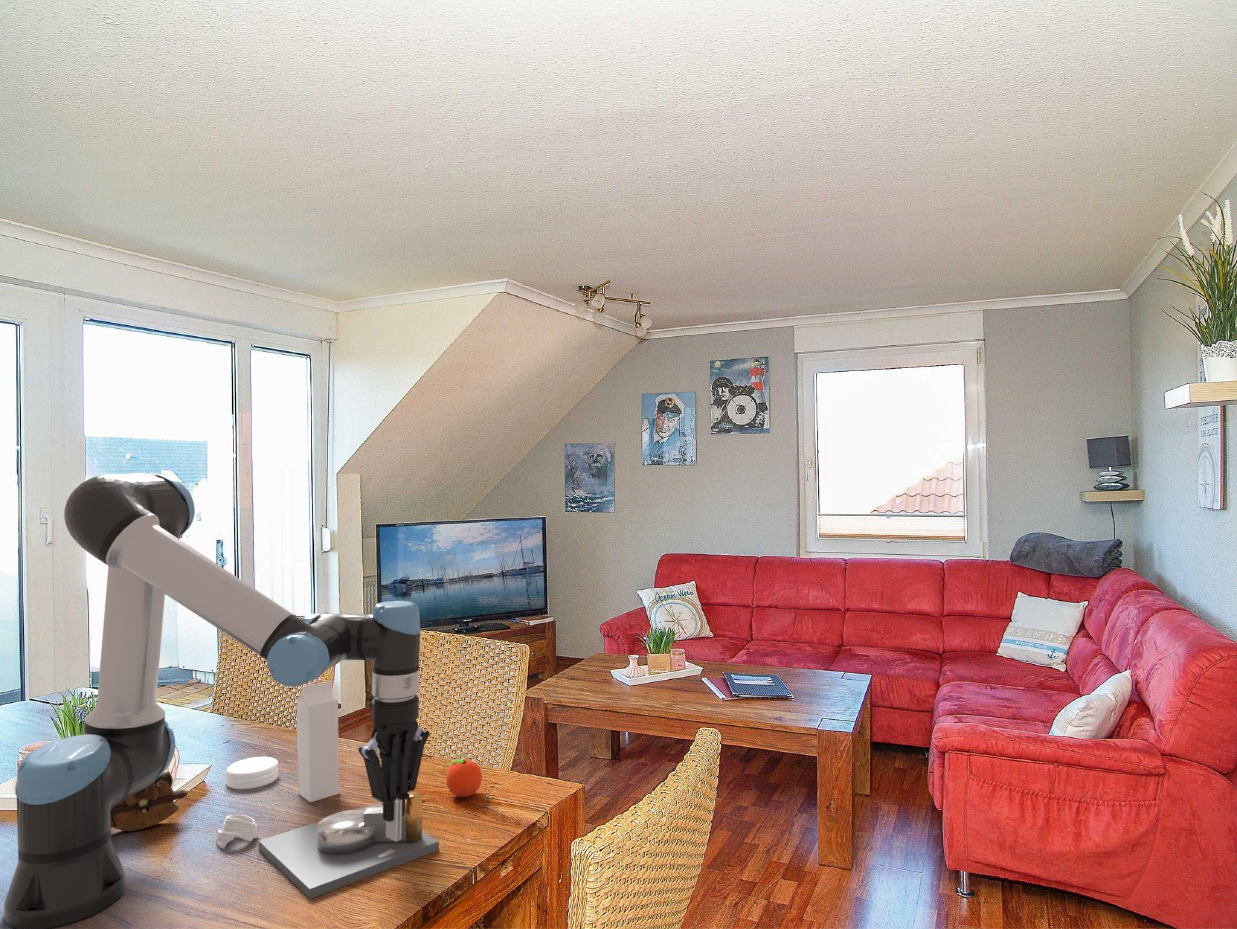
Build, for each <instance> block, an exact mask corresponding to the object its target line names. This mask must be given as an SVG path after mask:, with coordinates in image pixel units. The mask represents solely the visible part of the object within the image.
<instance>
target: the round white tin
mask: <svg viewBox="0 0 1237 929" xmlns="http://www.w3.org/2000/svg"><path fill="white" fill-rule="evenodd" d="M279 769H280V768H279V761H278V760H277V759H276V758H274V757H271V756H254V757H248V758H245V759H241V760H238V761H235V762H233V763H231V764H230V765H229V766H228V767H227V768H226V770H225V774H226V776H225V778H226V786H227V787H228V788H229V789H233V790H252V789H257V788H261V787H265V786H267V785H270V784H271V783H274V781H276V780H277V779H278V778H279V776H280V774H279Z"/></svg>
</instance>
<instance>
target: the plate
mask: <svg viewBox="0 0 1237 929" xmlns="http://www.w3.org/2000/svg"><path fill="white" fill-rule="evenodd" d="M374 807H383V803H380V802H378V803H377V802H376V803H373V804H371V805H368V806H364V807H361V808H358V809H357V810H366V809H367V808H374ZM319 822H320V821H317V822H313V823H311V824H307V825H304V826H301V827H297V828H294V829H292V830H289V831H286V832H283V833H279V834H276V835H272V836H270V837H269V836H268V837H267V838H266V837H265V838H263V839H260V840H258V850H259V851H260V852H261V853H262V854H263V855H264V856H265V857H266V858H267V859H268V860H269V861H270V862H271V863H272V864H273V865H274V866H275V867H277V869H278V870H279V871H280V872H281V873H282V874H283V875H285V877H286V878H288V879H289V881H291V882H292V883H293V884H294V885H295V886H296V887H297V888H298V889H299V890H300V891H301V892H302V893H303V894H304V895H305V896H306V897H307V898H308V899H309V900H311V899H313V898H316V897H318V896H321V895H325V894H326V893H329V892H331V891H335V890H337V889H340V888H342V887H345V886H348V885H350V884H353V883H355V882H358V881H361V880H363V879H366V878H369V877H371V876H375V875H377V874H380V873H383V872H385V871H388V870H390V869H392V868H393V869H394V868H396V867H398V866H401V865H403V864H406V863H409V862H411V861H414V860H417V859H419V858H423V857H424V856H427V855H430V854H432V853H435V852H438V851H439V850H440V842H439V840H438V839H436V838H434V837H433V836H432V835H430V834H429V833H427V832H425V831H424V830H422V838H421V839H420V840H418V841H414V842H408V841H388V842H375V843H374V844H372V845H371V846H369V847H367V848H365V849H362V850H359V851H356V852H352V853H345V854H330V853H325V852H322V851H321V850H319V849H318V847H317V824H318V823H319Z"/></svg>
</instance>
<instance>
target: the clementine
mask: <svg viewBox="0 0 1237 929" xmlns="http://www.w3.org/2000/svg"><path fill="white" fill-rule="evenodd" d="M452 763H453V764H452ZM449 764H452V765H451V766H450V767H449V769H448V771H447V774H446V780H445V781H446V786H447V788H448V791H449V792H450V793H452V795H454V796H456V797H458V798H467V797H470V796H472V795H474V794H475V793H477V791H478V790H479V788H480V787H481V785H482V779H483V775H482V771H481V768H480V766H479V765H478V764H477V763H476V762H475V761H473V760H471V759H455V760H452V761H450V762H449V763H447V764H446V765H445V766H444V769H443V772H444V771H445V769H446V767H447V766H448V765H449Z"/></svg>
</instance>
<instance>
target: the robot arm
mask: <svg viewBox="0 0 1237 929" xmlns="http://www.w3.org/2000/svg"><path fill="white" fill-rule="evenodd" d="M195 509H196V508H195V502H194V499H193V496H192V494H191V493H190V491H189V490H188V488H186V486H185V485H184V484H183V482H180V481H179V480H178V479H176V478H174V477H172V476H169V475H166V474H158V473H152V472H140V473H138V472H137V473H122V474H121V473H120V474H115V473H113V474H112V473H111V474H110V473H109V474H101V475H97V476H92V477H91V478H88V479H87V480H85V481H83V482H81V483H80V484H79V485H78V486H77V487H75V488H74V489H73V491H72V492H71V493H70V495H69V496H68V498H67V500H66V503H65V506H64V510H63V512H64V514H63V517H64V523H65V526H66V529H67V531H68V533H69V535H70V536H71V538H72V539H73V540H74V541H75V542H76V543H77V545H78V546H80V547H81V548H82V549H83V550H84V551H86V552H87V553H88V554H90V555H91V556H93V557H94V558H96V559H97V560H99V561H100V562H102V563H103V564H105V565H106V566H107V567H108V568H107V578H106V589H105V591H106V592H105V604H104V614H103V625H102V626H103V627H102V640H101V649H100V651H101V652H100V663H99V664H100V665H99V675H98V676H99V677H98V686H97V697H96V698H97V700H96V707H95V708H94V709H92V710H91V711H90V712H89V713H88V714H87V715H86V716H85V718H84V724H83V725H84V727H83V734H78V735H71V736H66V737H63V738H61V739H60V740H56V741H50V742H48V743H45V744H43V745H41V746H39V747H37V748H36V749H33V750H32V751H30V752H29V753H27V755H26V756H25V757H24V758H23V759H22V760H21V762H20V763H19V765H18V766H17V767H18V768H17V774H16V775H17V776H16V784H15V787H14V790H15V796H16V816H17V818H16V820H17V821H16V822H17V823H16V824H17V857H18V858H17V859H18V860H17V865H16V868H15V871H14V873H13V876H12V879H11V883H10V886H9V887H8V891H7V893H6V894H7V895H6V897H5V899H4V904H3V909H4V910H3V911H4V912H3V913H4V914H3V916H4V917H3V918H4V923H5V924H6V925H7V926H9V927H10V928H14V929H51V928H56V927H60V926H64V925H68V924H71V923H75V922H78V921H81V920H83V919H86V918H88V917H92V916H93V915H96V914H98V913H99V912H102V911H103V910H105V909H106V908H108V907H110V906H111V905H113V904H114V903H115V902H117V901H118V900H119V899H120V897H122V895H123V894H124V892H125V891H126V874H125V870H124V867H123V864H122V862H121V860H120V858H119V855H118V854H117V853H118V852H117V851H116V849H115V845H114V844H113V841H112V831H111V830H112V828H111V809H112V808H114V807H115V806H117V805H118V804H120V803H121V802H123V801H124V800H126V799H128V798H129V797H131V796H132V795H134V794H135V793H137V792H138V791H141V790H143V789H144V788H146V787H148V786H149V785H151V783H153V782H154V781H155V780H156V779H157V778H158V777H159V776H160V775H162V774H163V773H165V771H167V769H168V768H169V766H170V764H171V762H172V760H174V759H173V758H174V755H175V751H176V737H175V733H174V731H173V729H172V728H170V727H169V723H168V722H167V721H166V712H165V709H163V708H162V707H161V706H160V705H159V704H158V703H157V694H158V686H159V685H158V684H159V683H158V682H159V672H160V661H161V660H160V658H161V647H162V646H161V645H162V634H163V624H164V611H165V598H166V596H167V597H169V598H171V599H172V600H173V601H175V602H176V603H178V604H180V605H181V606H183V607H184V608H186V609H187V610H188V611H190V612H192V613H194V614H195V615H196V616H198V617H199V618H201V619H203V620H204V621H206V622H207V623H209V624H210V625H212V626H214V627H215V628H216V629H218V630H219V631H221V632H222V633H224V634H225V635H227V636H228V637H230V638H232V639H233V640H234V641H237V643H240V644H241V645H242V646H244V647H245V648H247V649H249V650H250V651H252V652H254V653H255V654H256V655H257V656H260V658H262V659H264V660H265V661H266V662H267V665H266V666H267V669H268V671H269V673H270V675H271V676H272V678H273V680H275V681H276V682H277V683H279V684H281V685H283V686H286V687H292V688H293V687H300V686H304V685H305V684H308V683H309V682H310V683H311V682H314V681H315V680H316V679H319V678H320V677H321V675H324V673H325V672H327V671H328V670H329V669H331V668H333V667H334V666H336V665H337V664H339V663H341V662H343V661H372V678H371V679H372V683H371V685H372V686H371V694H372V695H371V696H373V697H374V698H373V699H372V700H371V703H372V704H371V720H372V723H373V730H372V732H371V735H370V737H371V739H370V740H369V741H368V742H367V744H366V745H362V744H361V745H360V746H359V747H358V753H359V754H360V757H362V758H363V761H364V766H365V770H366V774H367V779H368V785H369V787H370V792H371V797H372V799H374V800H377V801H378V802H382V805H383V819H384V820H385V821H386V837H387V838H389V839H391V840H393V841H399V840H401V831H402V816H404V814H405V799H408V798H409V797H410V794H407V793H410V792H415V790H416V788H417V783H418V778H419V772H420V769H421V764H422V759H423V754H424V751H425V750H424V749H425V745H426V743H427V740H428V739H429V736H430V731H429V730H425V729H422V728H420V727H419V723H418V720H417V719H418V718H419V715H420V714H419V713H420V698H419V696H418V695H417V694H418V693H419V692H420V646H421V645H420V644H421V633H422V629H421V625H420V624H421V620H420V619H421V618H420V617H421V616H420V608H419V606H418V605H417V604H416V603H415V602H412V601H408V600H407V601H405V600H393V601H387V600H386V601H383V602H382V601H381V602H378V603H376V604H375V605H374V607H373V611H372V613H370V614H368V613H367V614H366V613H365V614H362V613H360V614H358V613H357V614H356V613H331V612H322V613H308V614H306V615H304V616H303V617H302V619H301V618H300V617H298V616H296V615H294V613H292V612H290V610H288V609H287V608H284V607H283V606H281V605H280V604H278V603H277V602H275V601H274V600H272V599H271V598H270V597H268V596H266V595H265V594H263V593H262V592H260V591H259V590H258V589H255V588H254V587H252V586H251V585H249V584H248V583H247V582H245V581H244V580H241V579H240V578H238V577H237V576H236V575H235V574H233V573H231V572H229V571H228V570H227V569H226V568H223V567H222V566H221V565H219V564H218V563H216V562H215V561H213V560H212V559H210V558H208V557H207V556H205V555H204V554H202V552H200V551H198V550H196V549H195V548H193V547H191V546H190V545H189V544H187V543H186V542H184V541H182V540H181V537H182V536H183V535H184V534H185V533H187V531H188V530H189V528H191V525H192V524H193V522H194V518H195V512H196V510H195ZM378 750H379V751H378ZM378 755H379V756H378ZM380 759H381V760H380Z"/></svg>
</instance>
